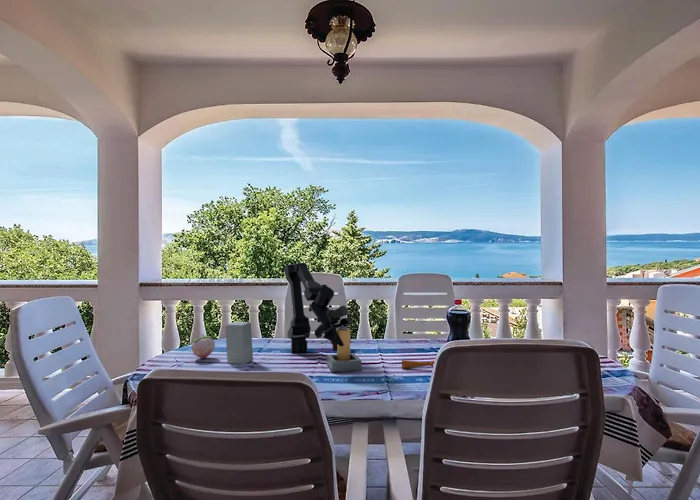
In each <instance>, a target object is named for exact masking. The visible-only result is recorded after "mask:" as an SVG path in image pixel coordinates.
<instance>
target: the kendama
mask: <svg viewBox="0 0 700 500" xmlns="http://www.w3.org/2000/svg"><path fill="white" fill-rule="evenodd" d="M433 364H434V360H432V361H429V362H427V361H415V360H407V359H405V360H404V359H402V360H401V369H402V370H407V369H413V368H421V367H429V366H430V367H433ZM433 368H434V367H433Z"/></svg>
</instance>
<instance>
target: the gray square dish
mask: <svg viewBox="0 0 700 500" xmlns="http://www.w3.org/2000/svg"><path fill="white" fill-rule="evenodd" d="M326 366H327V367H328V369H329V370H330V372H331V373H332V374H337V373H338V374H340V373H351V372H352V373H354V372H362V359H361V358H360V357H359V356H358V355H357V354H356V353H350V360H340V361H337V353H336V354H326Z"/></svg>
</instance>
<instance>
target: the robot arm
mask: <svg viewBox="0 0 700 500" xmlns="http://www.w3.org/2000/svg"><path fill="white" fill-rule="evenodd" d="M283 273H284V275H285V279H286V281H287V282H288V283H289V287H290V295H291V296H290V297H291V305H292V306H291V307H292V315H293V316H292V318H291V320H290V323H289V324H290V325H289V328H288V330H287V339H289V340H290V353H291V354H306V353H307V351H308V341H307V339H309V338H310V334H311V325H310V318H309V317H308V316H306V315H305V311H304V303H303V301H304V300H303V296H304V297H305V300H306V301H308V302H310V301H312V302H311V303H310V304H309V305H308V312H312V313H313V314H314V315H315V317H316V318H317V319H316V322H317V323H320V324H319V325H318V327H316V328H315V330H314V332H313V333H314V336H315V338H316V339H321V338H323V339H326V340H327V341H330V342H331V341H332V342H334V343H336V344H338V345H340V346H343V345H344V344H343V342H342V340H341V339H340V337H339V336H338V334H337V332H336V331H337V330H338V329H340V327H343V326H345V327H349V326H350V325H351V324H352V323H353V320H352V319H351V318H350V317H348V315H349V314H348V313H349V308H347V306H346V305H341V306H339V307H338V308H336V309H330V308H329V307H328V306H330V303H331V301H332V300H333V298H334V296H335V292H334V290H333V289H332V288H331V287H329V286H328V285H327V284H321V283H319V282H317V281H315V279H314V277H313V276H312V273H311V272H310V270H309V268H308V264H307V263H306V262H296V263H293V264H290V263H289V264H286V266H284V268H283ZM302 285H303V288H304V290H303V291H304V292H302ZM303 294H304V295H303ZM344 316H346V317H344ZM351 343H352V340H351V338H350V344H351Z"/></svg>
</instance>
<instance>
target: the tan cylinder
mask: <svg viewBox="0 0 700 500" xmlns="http://www.w3.org/2000/svg"><path fill="white" fill-rule="evenodd" d="M348 327H349V326H348ZM348 327H345V326H343V327H340V329H338V330H336V331H337V334H338V336H339V337H340V339H341V340H342V342H343V344H344V345H343V346H340V345H338V344H337V350H336V354H337V361H340V360H350V354H351V343H350V339H351V329H350V328H348Z"/></svg>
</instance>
